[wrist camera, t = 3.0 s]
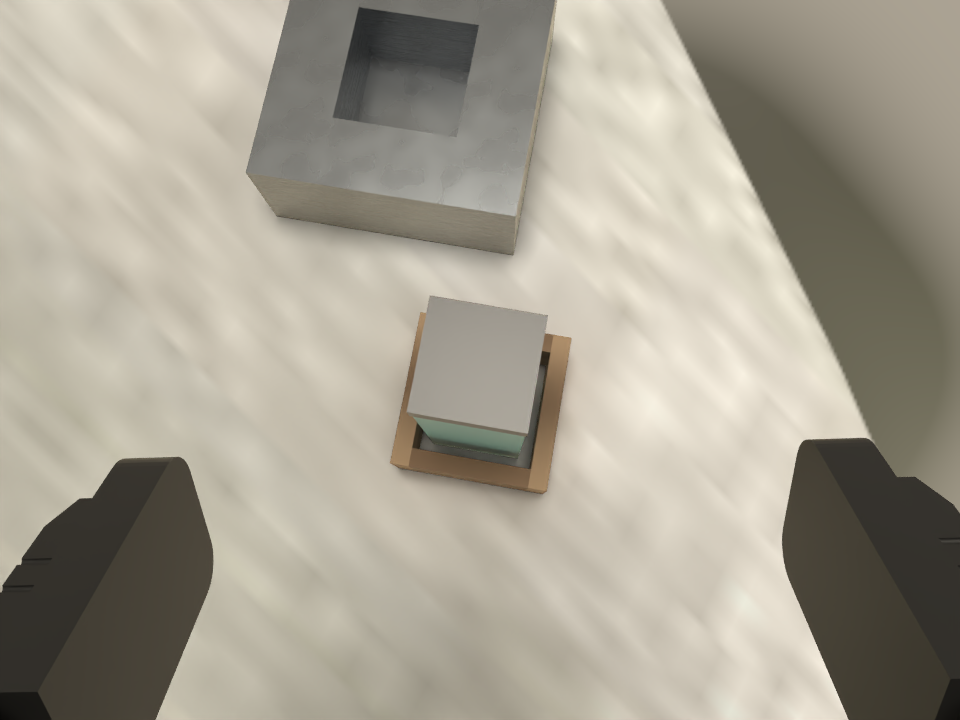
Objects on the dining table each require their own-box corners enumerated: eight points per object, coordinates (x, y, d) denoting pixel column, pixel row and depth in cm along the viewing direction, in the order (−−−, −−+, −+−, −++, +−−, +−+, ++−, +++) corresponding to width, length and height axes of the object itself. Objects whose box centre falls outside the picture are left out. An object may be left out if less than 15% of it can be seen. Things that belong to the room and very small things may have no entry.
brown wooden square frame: (542, 493, 37) (546, 491, 34) (398, 467, 37) (389, 463, 34) (565, 352, 38) (571, 337, 35) (426, 328, 38) (420, 312, 35)
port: (513, 255, 39) (515, 216, 34) (276, 215, 40) (246, 172, 35) (552, 38, 41) (560, -27, 36) (328, 5, 42) (306, -63, 37)
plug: (518, 459, 37) (527, 433, 26) (432, 444, 37) (406, 412, 26) (532, 374, 38) (547, 315, 27) (448, 360, 38) (429, 295, 27)
